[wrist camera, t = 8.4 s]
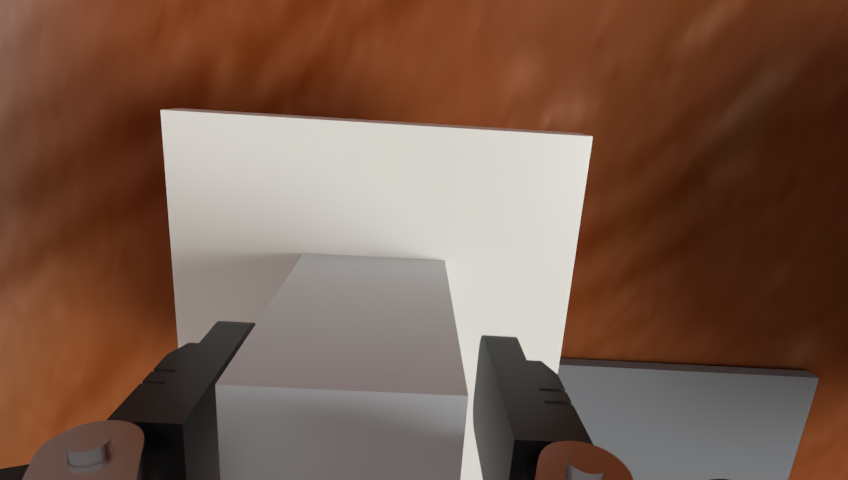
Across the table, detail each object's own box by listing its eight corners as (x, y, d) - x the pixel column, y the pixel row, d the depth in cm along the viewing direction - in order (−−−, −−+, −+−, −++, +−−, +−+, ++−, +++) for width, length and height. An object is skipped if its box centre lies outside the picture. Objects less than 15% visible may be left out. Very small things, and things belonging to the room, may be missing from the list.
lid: (580, 132, 13) (749, 179, 7) (533, 465, 16) (618, 737, 9) (179, 108, 13) (-77, 130, 6) (201, 451, 16) (42, 724, 9)
